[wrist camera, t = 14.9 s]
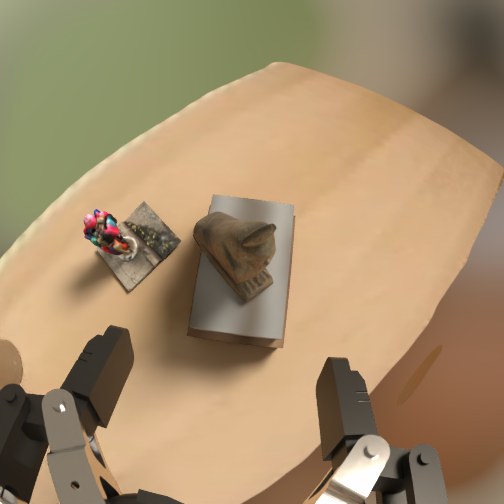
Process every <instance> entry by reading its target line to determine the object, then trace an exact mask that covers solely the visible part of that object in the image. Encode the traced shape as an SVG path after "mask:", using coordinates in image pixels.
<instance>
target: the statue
mask: <svg viewBox="0 0 504 504" xmlns="http://www.w3.org/2000/svg"><path fill="white" fill-rule="evenodd" d="M94 215H95V216H93V215H92V214H87V215H85V217H84V224H85V228H84V234H85V238H86V239H89V240H90V241H91V242H92V243H93V244H94V245H96V246H98V247H97V248H96V249H97V251H98V252H99V253H100V255H101V256H102V257H103V259H104V260H105V262H106V263H107V264H108V265H109V267H110V268H111V269H112V271H113V272H114V273H115V275H116V276H117V277H118V278H119V280H120V281H121V282H122V283H123V285H124V286H125V287H126V289H127V290H128V291H130V290H133V289H134V286H135V288H136V286H137V285H138V284H140V283H141V282H142V281H143V280H144V278H145V277H146V276H147V275H148V274H149V273H151V272H152V270H153V269H154V268H155V267H156V266H157V265H158V264H159V263H158V262H159V261H163V259H164V258H165V259H166V258H167V257H168V255H170V254H171V251H172V250H173V249H174V248H175V247H176V246H177V245H178V244H179V243H180V242H181V240H180V239H179V238H178V237H177V236H176V235H175V234H174V233H173V232H172V231H171V230H170V229H169V227H168V226H167V225H166V224H165V223H164V222H163V221H162V220H161V219H160V218H159V217H158V216H157V215H156V214H155V213H154V211H153V210H152V209H151V208H150V207H149V206H148V205H147V204H146V203H145V202H143V203H142V204H141V205H140V206H139V207H138V208H137V209H136V210H135V211H134V212H133V213H132V214H131V215H130V216H129V218H128V219H127V220H126V221H125V222H121V223H120V224H119V225H118V226H117V225H116V223H117V220H116V219H115V218H114V217H113V216H112V215H111V214H108V213H107V212H105V211H103V212H100V211H99V210H97V209H96V210H95V211H94ZM120 239H121V240H120ZM139 281H140V283H138V282H139ZM137 283H138V284H137ZM130 292H131V291H130Z"/></svg>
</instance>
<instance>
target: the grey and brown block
mask: <svg viewBox="0 0 504 504" xmlns="http://www.w3.org/2000/svg"><path fill="white" fill-rule="evenodd" d="M214 212H223V213H225V214H228V215H230V216H232V217H233V218H236V219H239V220H241V221H243V222H246V221H262V222H265V223H267V224H271V223H273V224H275V225H276V227H277V228H276V230H275V232H274V237H275V246H276V252H275V254H274V256H273V258H272V260H271V262H270V263H269V264H268V265H267V266H266V269H267V271H268V272H269V273H270V275H271V276H272V278H273V284H272V285H271V286H269V287H268V288H266V289H265V290H263V291H262V292H261V293H259V294H258V295H257V296H256V297H254V298H253V299H252V300H250V301H249V302H248V303H244V301H243V300H242V299H241V298H240V297H239V296H238V295H237V293H236V292H235V291H234V290H233V289H232V288H231V287H230V286H229V285H228V284H227V282H226V281H225V279H224V278H223V277H222V276H221V274H220V273H218V271H217V270H216V269H215V268H214V266H213V265H212V264H211V263H210V262H209V259H208V258H207V256H206V253H204V252H203V251H202V249H201V254H200V259H199V265H198V270H197V276H196V282H195V288H194V294H193V300H192V307H191V313H190V320H189V326H188V333H187V336H193V337H199V338H205V339H211V340H218V341H225V342H232V343H240V344H248V345H256V346H265V347H274V348H283V344H284V335H285V326H286V316H287V307H288V297H289V286H290V275H291V264H292V252H293V240H294V226H295V216H293V213H294V205H291V204H284V203H277V202H270V201H262V200H255V199H247V198H239V197H231V196H222V195H213V197H212V202H211V205H210V207H209V212H208V214H211V213H214Z"/></svg>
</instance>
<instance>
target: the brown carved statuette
mask: <svg viewBox="0 0 504 504" xmlns="http://www.w3.org/2000/svg"><path fill="white" fill-rule="evenodd" d="M276 228H277V227H276V225H275V224H273V223H271V224H267V223H265V222H262V221H246V222H243V221H241V220H239V219H236V218H233V217H232V216H230V215H228V214H225V213H223V212H214V213H211V214H208V215H207V216H205V217H204V218H202V219H201V220H199V221H198V222H197V223H196V225H195V227H194V235H193V236H194V239H195V240H196V242H197V243H198V245H199V246H200V248H201V249H202V251H203V252H204V253H206V256H207V258H208V259H209V262H210V263H211V264H212V265H213V266H214V268H215V269H216V270H217V271H218V273H220V274H221V276H222V277H223V278H224V279H225V281H226V282H227V284H228V285H229V286H230V287H231V288H232V289H233V290H234V291H235V292H236V293H237V295H238V296H239V297H240V298H241V299H242V300H243V301H244V303H248V302H249V301H250V300H252V299H253V298H254V297H256V296H257V295H258V294H259V293H261V292H262V291H263V290H265V289H266V288H268V287H269V286H271V285H272V284H273V278H272V276H271V275H270V273H269V272H268V271H267V269H266V266H267V265H268V264H269V263H270V262H271V260H272V258H273V256H274V254H275V252H276V246H275V237H274V232H275V230H276Z"/></svg>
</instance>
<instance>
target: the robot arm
mask: <svg viewBox="0 0 504 504" xmlns="http://www.w3.org/2000/svg"><path fill="white" fill-rule="evenodd" d="M133 362H134V353H133V348H132V344H131V339H130V334H129V331H128V329H126V328H121V327H117V326H113V325H110V326H109V327H108V328H107V330H106V331H105V333H104V335H103V336H102V335H96V336H95V337H94V338H92V339H91V340H90V341H88V343H87V345H86V346H85V348H84V349H83V352H82V353H81V354H80V356H79V358H78V360H77V361H76V362H75V364H74V366H73V367H72V369H71V371H70V373H69V374H68V376H67V378H66V379H65V381H64V383H63V385H62V386H61V387H60V389H54V390H51V391H49V392H48V393H47V394H46V395H36V394H27V393H26V392H25V391H24V389H23V388H22V387H21V386H20V385H19V384H20V382H21V379H22V362H21V358H20V355H19V353H18V351H17V349H16V347H15V346H14V345H13V344H12V343H11V342H9V341H7V340H0V504H29V502H30V499H31V495H32V492H33V489H34V486H35V482H36V479H37V476H38V473H39V470H40V467H41V464H42V462H43V459H44V456H45V453H46V451H47V448H48V445H49V446H50V453H48V454H47V462H48V466H49V469H50V473H51V476H52V480H53V483H54V486H55V489H56V492H57V495H58V498H59V501H60V504H184V503H181V502H179V501H177V500H174V499H172V498H170V497H168V496H163V495H159V494H155V493H152V492H148V491H144V490H141V489H139V491H138V494H136V493H132V494H122V493H121V491H120V488H119V486H118V485H117V483H116V481H115V479H114V478H113V476H112V474H111V473H110V471H109V468H108V466H107V463H106V461H105V458H104V456H103V453H102V451H101V448H100V445H99V442H98V439H97V437H96V434H95V431H96V428H97V426H101V427H104V428H107V425H108V423H109V420H110V418H111V415H112V413H113V411H114V408H115V406H116V403H117V401H118V399H119V396H120V394H121V392H122V389H123V387H124V385H125V382H126V380H127V378H128V375H129V373H130V371H131V369H132V366H133ZM316 399H317V408H318V417H319V426H320V436H321V447H322V458H323V461H331V460H332V468H331V469H330V470H329V472H328V473H327V474H326V476H325V477H324V478H323V480H322V481H321V482H320V484H319V485H318V486H317V487H316V489H315V490H314V491H313V492H312V493H311V495H310V496H309V497H308V498H307V499H306V501H305V502H304V503H303V504H365V499H366V497H367V496H368V494H369V492H370V491H376V501H377V502H376V503H377V504H448V500H447V495H446V489H445V484H444V479H443V474H442V469H441V465H440V460H439V456H438V453H437V451H436V450H435V449H434V448H433V447H432V446H430V445H427V444H419V445H417V446H415V447H414V448H413V449H412V450H409V449H402V448H396V447H392V446H389V445H388V443H387V442H386V441H385V440H384V439H383V438H381V437H379V435H378V432H377V428H376V424H375V419H374V415H373V411H372V407H371V404H370V402H369V400H370V399H369V395H368V393H367V388H366V384H365V380H364V379H363V378H362V376H361V375H360V374H359V372H358V371H351V370H350V366H349V362H348V359H347V358H337V357H328V358H327V360H326V362H325V364H324V367H323V369H322V371H321V373H320V376H319V378H318V380H317V384H316Z"/></svg>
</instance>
